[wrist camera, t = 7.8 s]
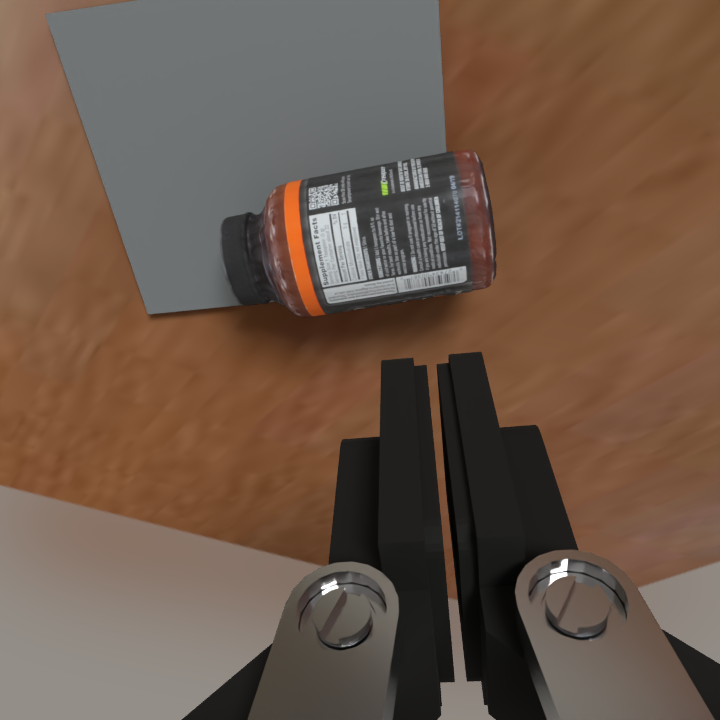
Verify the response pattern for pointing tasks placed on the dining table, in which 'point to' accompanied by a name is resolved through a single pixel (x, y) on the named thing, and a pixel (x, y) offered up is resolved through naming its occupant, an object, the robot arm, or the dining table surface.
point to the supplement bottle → (365, 237)
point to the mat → (240, 114)
